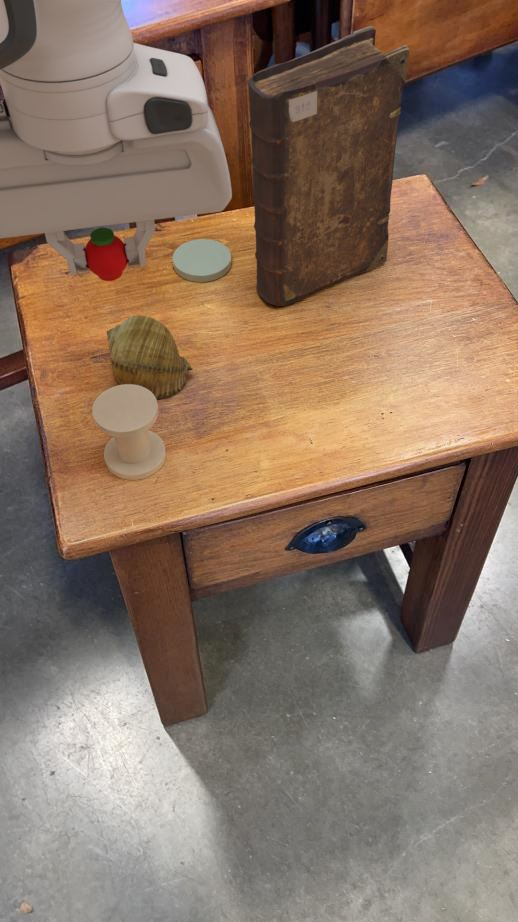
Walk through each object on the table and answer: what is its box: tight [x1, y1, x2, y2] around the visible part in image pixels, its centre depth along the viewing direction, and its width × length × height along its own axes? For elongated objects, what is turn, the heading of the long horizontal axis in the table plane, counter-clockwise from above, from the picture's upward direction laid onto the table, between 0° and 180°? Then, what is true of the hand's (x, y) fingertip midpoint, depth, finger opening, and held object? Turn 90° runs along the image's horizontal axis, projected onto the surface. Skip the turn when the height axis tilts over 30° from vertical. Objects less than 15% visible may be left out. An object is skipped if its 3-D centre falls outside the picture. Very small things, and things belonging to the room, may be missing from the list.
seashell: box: [106, 315, 193, 400], centre depth 87 cm, size 10×7×8 cm
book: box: [247, 25, 410, 307], centre depth 88 cm, size 17×7×25 cm, turn 121°
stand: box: [91, 384, 167, 481], centre depth 79 cm, size 6×6×7 cm
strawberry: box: [85, 227, 128, 282], centre depth 65 cm, size 3×3×4 cm
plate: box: [171, 238, 233, 283], centre depth 99 cm, size 7×7×1 cm
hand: (109, 265), depth 66 cm, fingers closed on strawberry, 3 cm apart
